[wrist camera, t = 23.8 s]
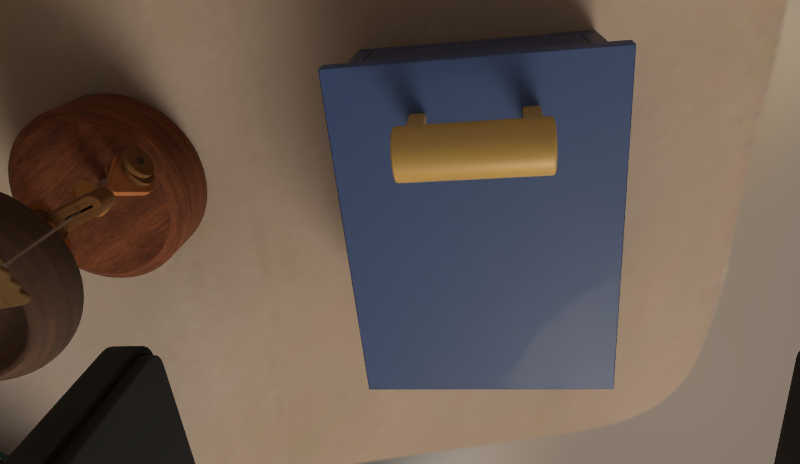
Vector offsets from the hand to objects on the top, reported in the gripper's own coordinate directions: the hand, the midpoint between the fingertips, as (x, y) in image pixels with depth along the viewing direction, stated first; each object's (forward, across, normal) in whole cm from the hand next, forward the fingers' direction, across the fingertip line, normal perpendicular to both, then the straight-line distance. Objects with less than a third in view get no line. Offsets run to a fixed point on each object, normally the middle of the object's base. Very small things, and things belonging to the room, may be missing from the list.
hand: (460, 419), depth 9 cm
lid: (+18, 0, +6) cm, 19 cm away
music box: (+26, +22, +6) cm, 35 cm away
